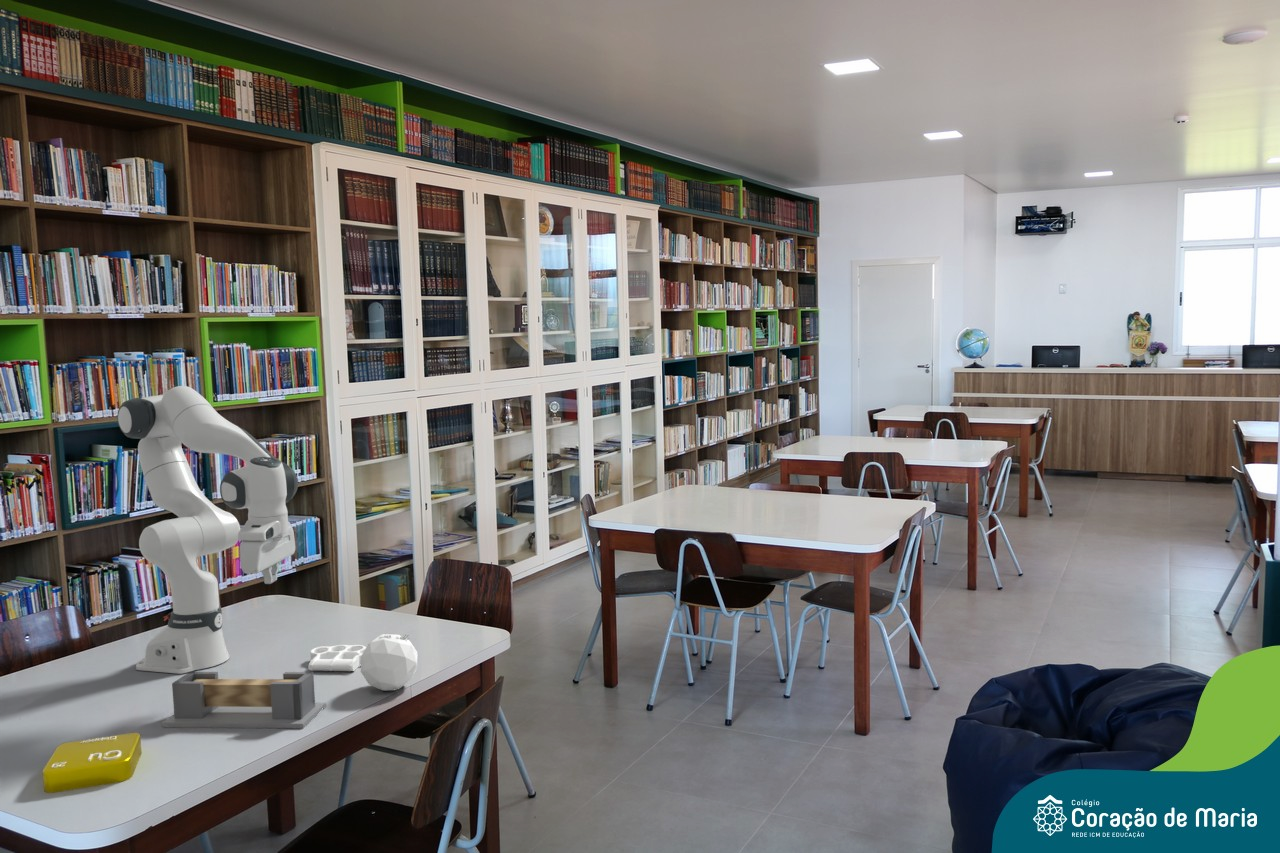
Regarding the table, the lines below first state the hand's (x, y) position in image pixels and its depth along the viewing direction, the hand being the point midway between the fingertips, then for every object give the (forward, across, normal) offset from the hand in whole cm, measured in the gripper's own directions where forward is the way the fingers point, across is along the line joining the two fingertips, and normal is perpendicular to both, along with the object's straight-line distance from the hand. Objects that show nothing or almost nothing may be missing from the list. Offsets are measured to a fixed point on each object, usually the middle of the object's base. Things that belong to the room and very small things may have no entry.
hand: (270, 582), depth 229 cm
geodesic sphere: (+26, 0, +29) cm, 39 cm away
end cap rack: (+26, +18, +2) cm, 32 cm away
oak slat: (+23, +18, +2) cm, 29 cm away
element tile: (+26, +46, -14) cm, 55 cm away
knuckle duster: (+27, -17, +10) cm, 33 cm away
